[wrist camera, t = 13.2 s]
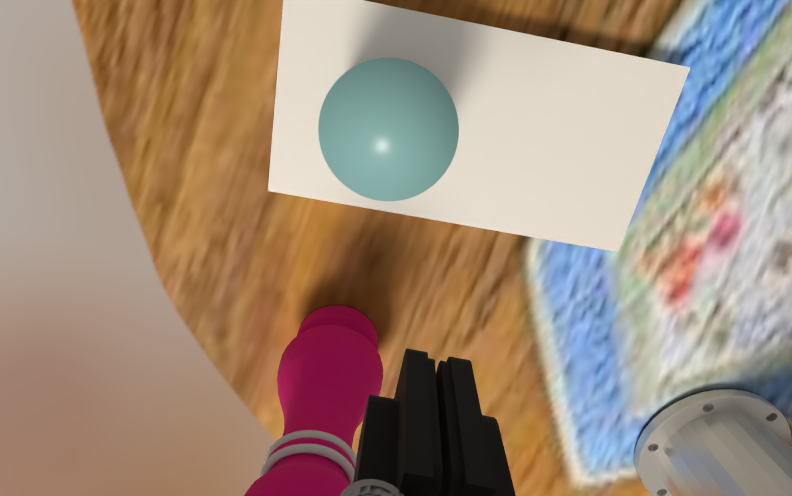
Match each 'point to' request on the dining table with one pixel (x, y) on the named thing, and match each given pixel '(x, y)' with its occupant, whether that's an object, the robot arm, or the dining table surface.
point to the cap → (388, 129)
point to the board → (485, 119)
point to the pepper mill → (322, 404)
